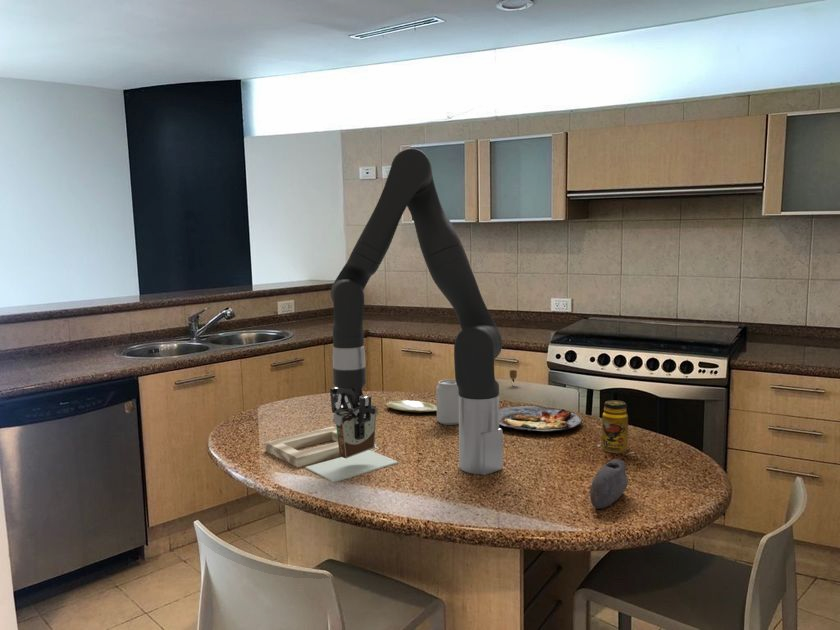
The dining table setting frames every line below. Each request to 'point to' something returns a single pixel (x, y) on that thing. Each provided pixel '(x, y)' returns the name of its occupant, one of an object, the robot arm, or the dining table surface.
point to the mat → (351, 465)
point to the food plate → (546, 422)
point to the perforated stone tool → (608, 484)
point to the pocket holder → (288, 446)
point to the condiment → (615, 427)
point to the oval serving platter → (412, 406)
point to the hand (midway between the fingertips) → (351, 435)
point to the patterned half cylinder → (347, 432)
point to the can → (447, 402)
